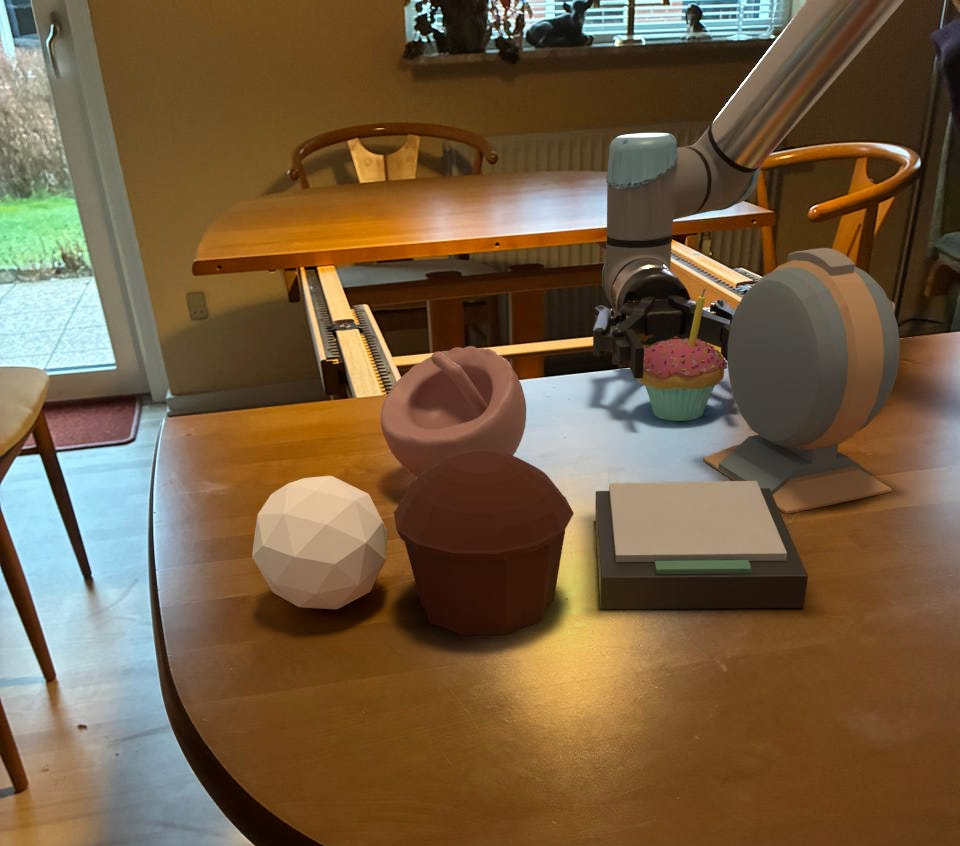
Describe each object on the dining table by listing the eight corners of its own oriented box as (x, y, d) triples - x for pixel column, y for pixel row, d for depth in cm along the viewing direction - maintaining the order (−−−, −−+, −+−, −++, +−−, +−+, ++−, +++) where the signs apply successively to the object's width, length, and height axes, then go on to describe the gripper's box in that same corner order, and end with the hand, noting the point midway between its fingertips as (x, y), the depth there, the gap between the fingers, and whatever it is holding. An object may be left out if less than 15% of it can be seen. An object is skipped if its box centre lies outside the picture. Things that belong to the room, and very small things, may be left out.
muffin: (373, 593, 68) (356, 456, 62) (506, 548, 72) (501, 417, 67) (463, 669, 59) (453, 517, 54) (608, 612, 64) (611, 468, 59)
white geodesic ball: (425, 590, 64) (380, 538, 74) (363, 467, 59) (325, 430, 70) (306, 655, 63) (278, 594, 73) (235, 535, 58) (216, 488, 69)
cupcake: (735, 407, 96) (746, 279, 90) (700, 434, 91) (708, 300, 84) (656, 395, 101) (661, 273, 94) (617, 420, 95) (619, 292, 89)
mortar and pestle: (359, 492, 83) (342, 356, 77) (445, 447, 91) (436, 321, 85) (473, 522, 77) (464, 377, 71) (554, 470, 85) (553, 337, 79)
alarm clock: (900, 496, 77) (945, 258, 68) (793, 519, 74) (825, 275, 65) (792, 438, 88) (818, 229, 79) (697, 456, 86) (712, 242, 77)
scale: (766, 516, 75) (770, 480, 73) (803, 608, 63) (809, 567, 61) (595, 519, 76) (595, 483, 74) (600, 609, 64) (601, 569, 63)
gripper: (744, 331, 109) (804, 395, 90) (553, 342, 110) (572, 407, 90) (751, 261, 105) (814, 311, 86) (553, 271, 106) (572, 324, 86)
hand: (690, 360), depth 88 cm, fingers closed on cupcake, 8 cm apart
